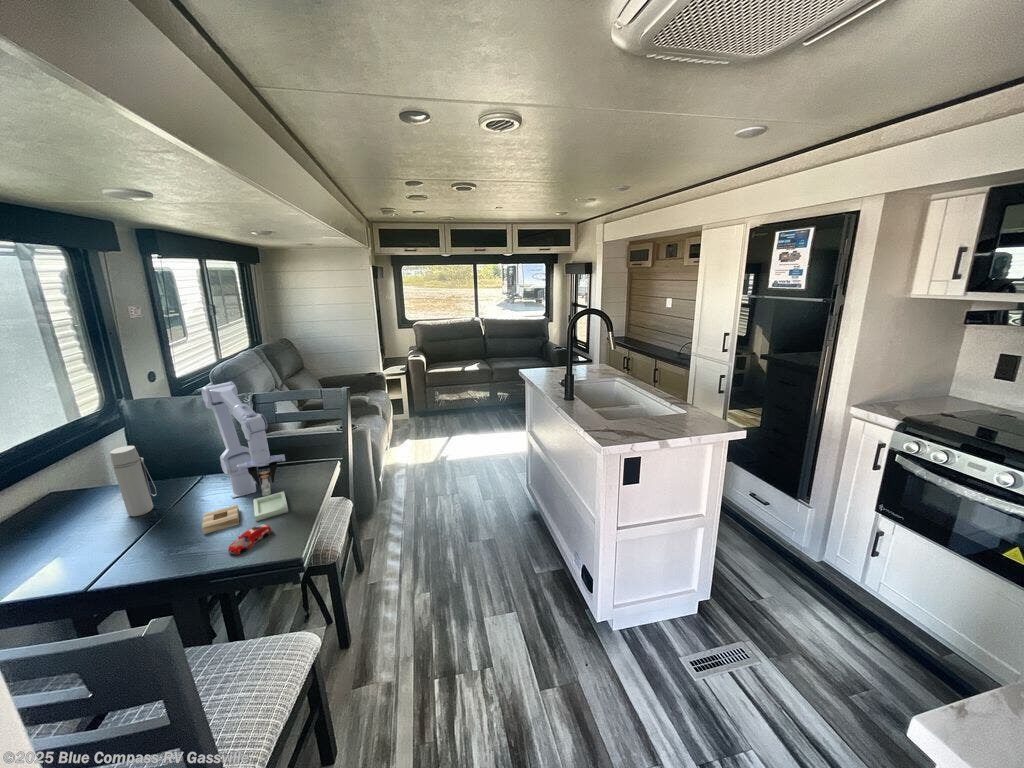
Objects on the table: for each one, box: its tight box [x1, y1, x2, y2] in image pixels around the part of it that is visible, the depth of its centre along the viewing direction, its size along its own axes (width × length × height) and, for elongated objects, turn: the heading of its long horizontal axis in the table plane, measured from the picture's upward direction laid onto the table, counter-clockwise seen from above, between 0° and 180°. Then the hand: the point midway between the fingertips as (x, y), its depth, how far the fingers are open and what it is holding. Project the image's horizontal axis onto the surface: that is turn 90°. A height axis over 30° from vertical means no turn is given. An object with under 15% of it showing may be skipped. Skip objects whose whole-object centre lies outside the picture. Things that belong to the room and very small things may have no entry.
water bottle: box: [109, 445, 157, 517], centre depth 146 cm, size 9×8×25 cm
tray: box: [252, 490, 289, 522], centre depth 150 cm, size 13×10×2 cm
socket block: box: [201, 504, 240, 535], centre depth 142 cm, size 10×10×2 cm
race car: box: [227, 523, 272, 556], centre depth 131 cm, size 13×5×4 cm, turn 158°
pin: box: [257, 470, 272, 497], centre depth 147 cm, size 4×4×8 cm
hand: (266, 483), depth 147 cm, fingers closed on pin, 4 cm apart
